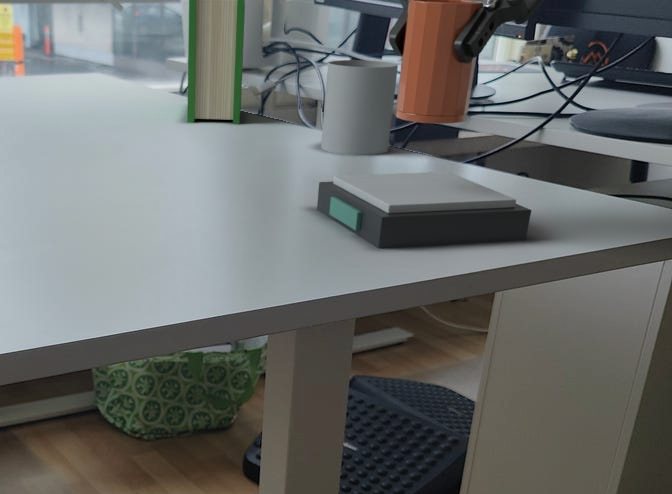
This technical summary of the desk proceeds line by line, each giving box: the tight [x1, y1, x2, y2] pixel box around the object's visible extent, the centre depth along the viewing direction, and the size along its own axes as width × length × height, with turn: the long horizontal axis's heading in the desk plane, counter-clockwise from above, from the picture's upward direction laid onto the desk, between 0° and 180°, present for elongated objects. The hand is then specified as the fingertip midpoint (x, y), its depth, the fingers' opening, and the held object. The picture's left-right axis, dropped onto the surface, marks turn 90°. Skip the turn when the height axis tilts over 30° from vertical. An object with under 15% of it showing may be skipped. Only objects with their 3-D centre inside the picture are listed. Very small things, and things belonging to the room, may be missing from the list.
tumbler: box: [395, 0, 484, 125], centre depth 80 cm, size 6×6×9 cm
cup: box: [320, 59, 399, 156], centre depth 118 cm, size 8×8×10 cm
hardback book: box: [186, 0, 246, 125], centre depth 138 cm, size 18×7×24 cm, turn 177°
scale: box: [316, 171, 532, 249], centre depth 86 cm, size 14×14×4 cm
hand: (427, 51), depth 79 cm, fingers closed on tumbler, 6 cm apart
